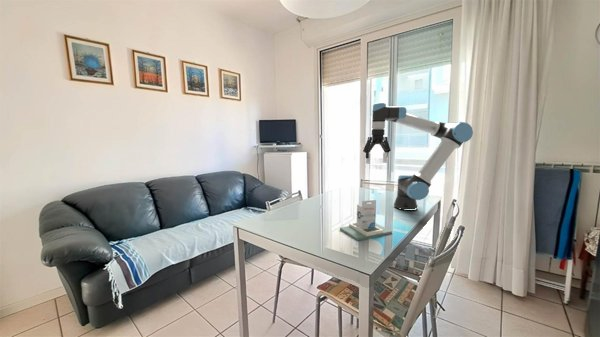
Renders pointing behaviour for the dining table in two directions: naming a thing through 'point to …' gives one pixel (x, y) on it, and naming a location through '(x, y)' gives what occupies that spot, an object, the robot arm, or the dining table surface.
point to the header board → (364, 231)
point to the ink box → (366, 214)
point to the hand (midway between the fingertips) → (376, 163)
